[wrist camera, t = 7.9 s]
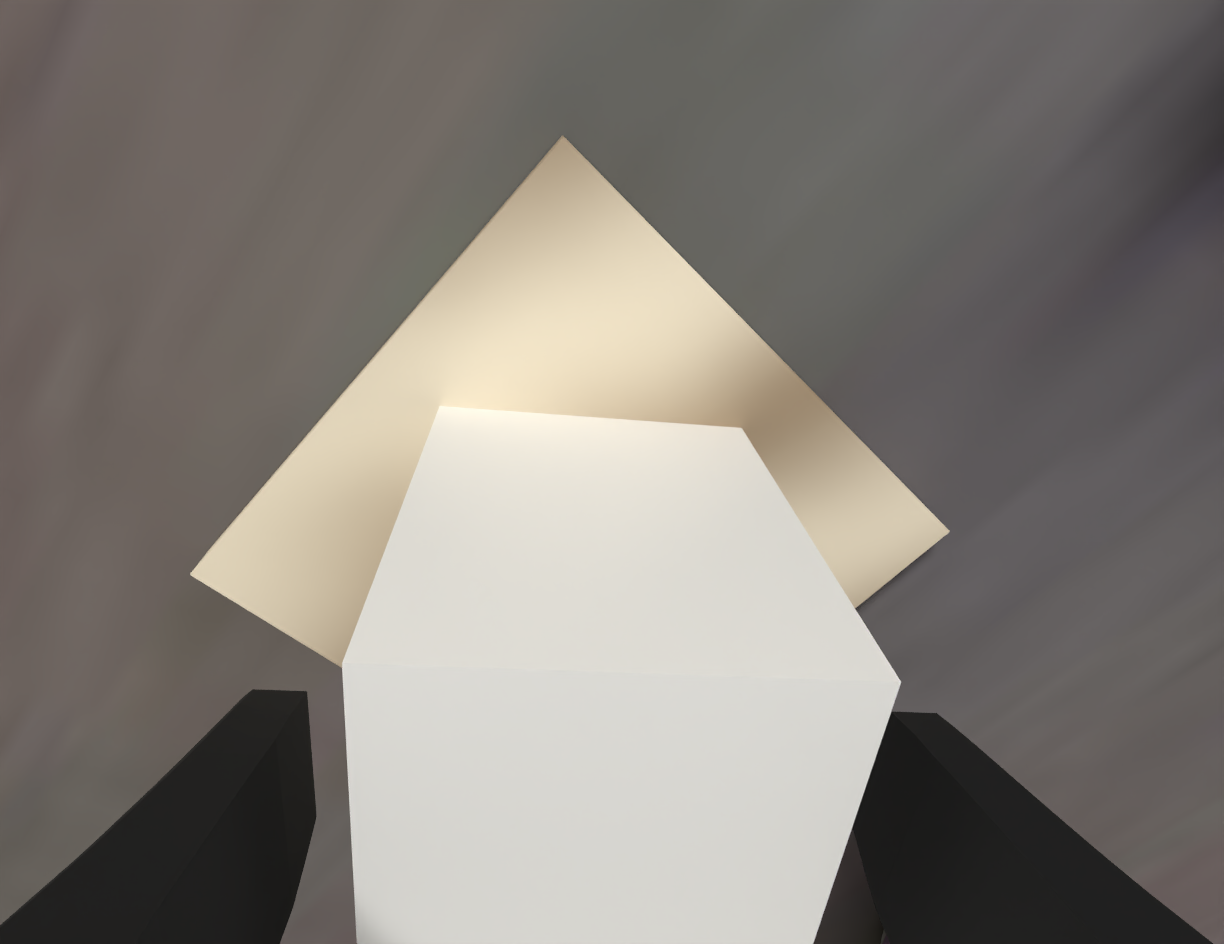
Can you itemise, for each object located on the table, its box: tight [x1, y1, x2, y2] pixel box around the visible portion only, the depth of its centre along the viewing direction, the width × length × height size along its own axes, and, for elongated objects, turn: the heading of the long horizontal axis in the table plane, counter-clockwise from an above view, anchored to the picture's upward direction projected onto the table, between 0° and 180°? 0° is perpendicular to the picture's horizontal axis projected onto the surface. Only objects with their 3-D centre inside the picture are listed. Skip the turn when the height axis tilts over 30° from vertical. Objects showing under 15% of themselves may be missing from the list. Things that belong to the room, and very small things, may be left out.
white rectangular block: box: [342, 406, 901, 944], centre depth 11 cm, size 5×5×7 cm
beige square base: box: [190, 135, 950, 667], centre depth 12 cm, size 10×10×6 cm
